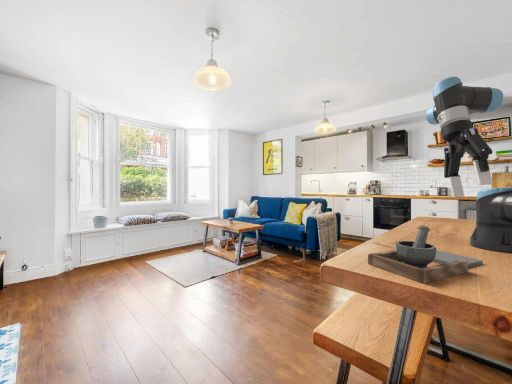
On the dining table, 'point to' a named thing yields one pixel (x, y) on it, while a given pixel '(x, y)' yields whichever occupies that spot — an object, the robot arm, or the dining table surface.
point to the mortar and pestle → (417, 250)
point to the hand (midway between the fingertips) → (471, 191)
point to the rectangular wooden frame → (424, 275)
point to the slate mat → (454, 258)
